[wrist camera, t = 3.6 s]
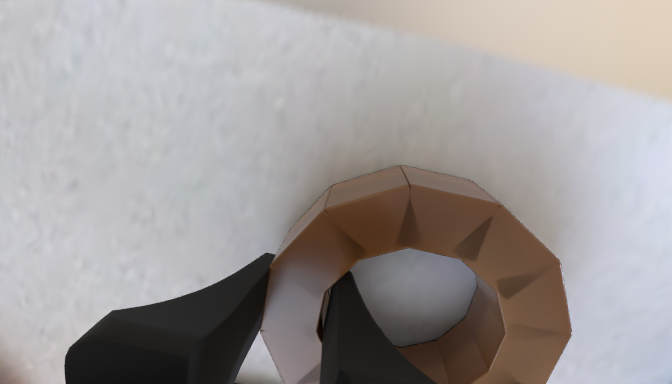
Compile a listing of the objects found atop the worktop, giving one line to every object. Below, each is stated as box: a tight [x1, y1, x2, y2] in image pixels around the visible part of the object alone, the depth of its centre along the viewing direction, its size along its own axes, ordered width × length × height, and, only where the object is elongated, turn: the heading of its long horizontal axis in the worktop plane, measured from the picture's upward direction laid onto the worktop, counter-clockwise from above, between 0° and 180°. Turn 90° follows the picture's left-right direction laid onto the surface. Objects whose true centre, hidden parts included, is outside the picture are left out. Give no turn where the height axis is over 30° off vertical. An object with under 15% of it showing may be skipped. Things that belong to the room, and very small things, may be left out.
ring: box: [260, 165, 572, 384], centre depth 13 cm, size 11×11×3 cm
